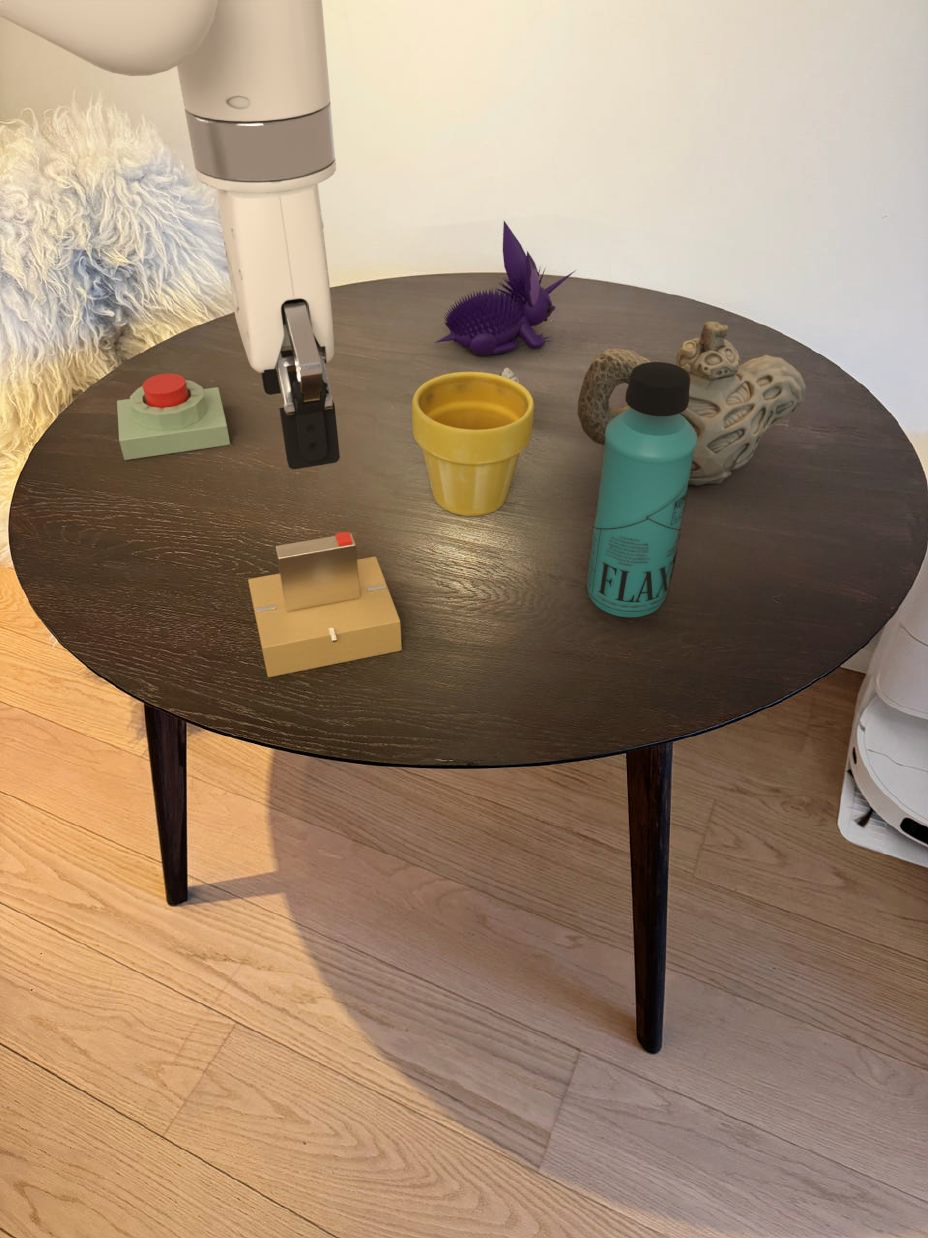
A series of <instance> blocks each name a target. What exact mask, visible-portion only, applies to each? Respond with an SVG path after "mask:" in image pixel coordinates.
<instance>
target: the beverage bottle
mask: <svg viewBox="0 0 928 1238" xmlns="http://www.w3.org/2000/svg"><path fill="white" fill-rule="evenodd" d="M689 389H690V376H689V374H688V372H687V371H686V370H685V369H683V368H681V367H679V366H677V365H676V364H674V363H670V362H664V361H651V362H648V363H643V364H640V365H638V366H636V367H635V368H634V369H633V370H632V372H631V375H630V380H629V384H627V388H626V391H625V402H626V405H627V404H628V405H629V406H630V407H631V408H630V409H628V410H626V411H624V412H622V413H621V414H619V415H618V416H616V417H615V418H613V419H612V420H611V421H610V422H609V423H608V425H607V427H606V431H605V438H606V440H605V446H604V447H603V457H602V465H601V474H600V483H599V490H598V492H599V493H598V498H597V507H596V515H595V520H594V525H593V526H592V527H591V528H592V529H593V530H591V535H592V537H590V540H589V541H590V544H591V547H590V549H589V552H590V553H588V555H587V556H588V558H587V560H588V561H587V563H586V564H588V565H587V568H586V572H585V573H586V574H585V577H584V578H585V579H586V581H585V583H584V585H585V586H586V587H585V589H586V591H587V593H588V596H589V599H590V600H591V602H592V603H593V604H594V605H595V606H596V607H598V608H599V609H600V610H602V611H604V612H606V613H607V614H610V615H613V616H616V617H621V618H623V617H624V618H639V617H645V616H647V615H650V614H653V613H655V612H656V611H657V610H658V609H659V608H660V607H661V606H662V604H663V603H664V602H665V600H666V598H667V595H669V593H670V589H671V586H669V585H670V584H671V582H672V580H673V579H672V578H673V575H674V570H675V563H676V559H677V554H678V550H677V549H678V546H679V544H680V540H681V531H682V528H680V527H681V524H682V523H681V522H682V519H683V514H684V513H685V512H686V507H687V500H688V498H689V493H690V488H691V485H688V483H690V482H689V480H690V479H689V477H690V474H691V475H692V474H693V473H690V471H691V464H692V459H693V454H694V449H695V448H696V445H697V434H696V431H695V430H694V428H693V427H692V426H691V424H690V423H689V422H688V421H687V420H686V419H685V418H684V417H683V416H682V415H681V414H679V413H681V412H683V411H684V410H686V409H687V407H688V403H689ZM690 478H691V477H690Z"/></svg>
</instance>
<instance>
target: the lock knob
mask: <svg viewBox="0 0 928 1238" xmlns="http://www.w3.org/2000/svg"><path fill="white" fill-rule="evenodd" d="M275 553H276V560H277V565H278V572H279V574H280V579H281V585H282V591H283V597H284V602H285V606H286V610H287V611H293V610H298V609H303V608H309V607H314V606H319V605H325V604H330V603H335V602H341V601H346V600H351V599H357V598H360V587H359V576H358V565H357V560H358V556H357V554H358V553H357V544H356V542H355V539H354V536H353V533H351V532H350V531H343V532H338V533H335V535H332V536H326V537H325V536H324V537H319V538H315V539H309V540H303V541H297V542H290V543H285V544H280V545H276V546H275Z"/></svg>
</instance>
